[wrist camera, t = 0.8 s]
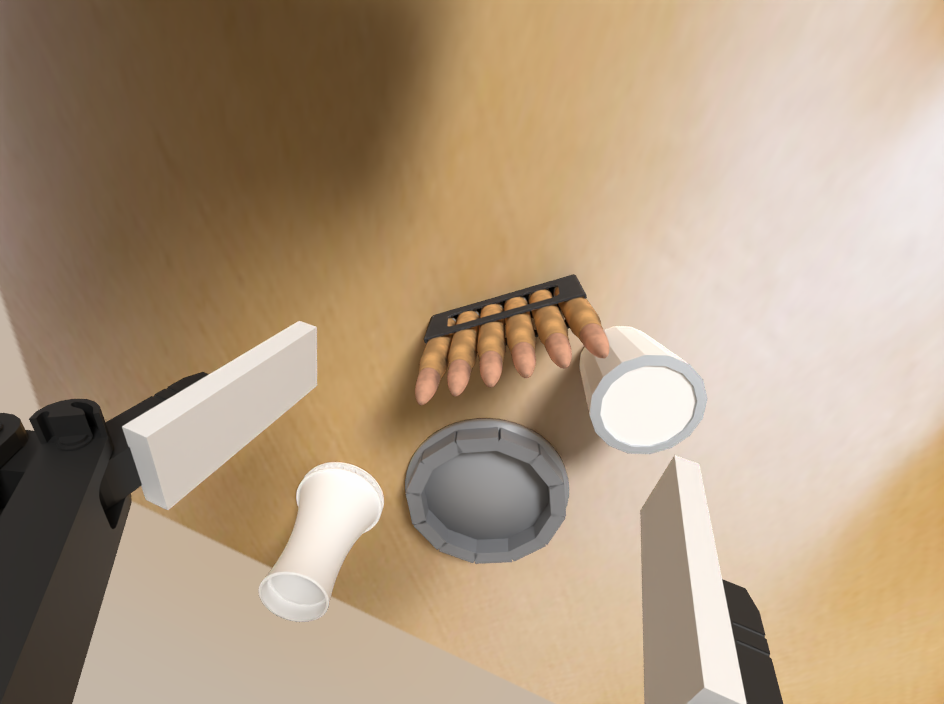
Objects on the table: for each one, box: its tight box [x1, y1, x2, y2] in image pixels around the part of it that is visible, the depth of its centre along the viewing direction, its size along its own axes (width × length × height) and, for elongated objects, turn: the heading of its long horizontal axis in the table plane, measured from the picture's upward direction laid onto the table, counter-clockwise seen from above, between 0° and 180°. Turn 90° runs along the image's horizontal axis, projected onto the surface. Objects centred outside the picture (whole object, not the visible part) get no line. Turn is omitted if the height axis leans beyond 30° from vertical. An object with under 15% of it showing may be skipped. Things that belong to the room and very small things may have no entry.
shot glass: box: [579, 326, 707, 454], centre depth 29 cm, size 7×7×7 cm
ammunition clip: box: [415, 274, 609, 405], centre depth 25 cm, size 11×2×12 cm, turn 107°
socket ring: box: [405, 418, 569, 564], centre depth 36 cm, size 14×14×2 cm
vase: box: [259, 462, 384, 622], centre depth 34 cm, size 8×8×10 cm
